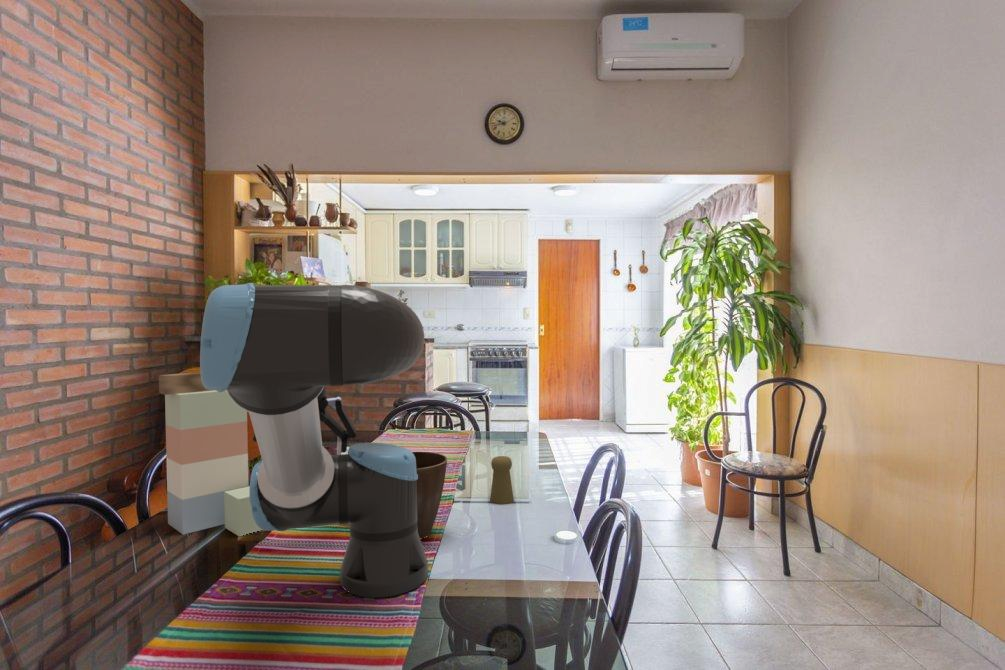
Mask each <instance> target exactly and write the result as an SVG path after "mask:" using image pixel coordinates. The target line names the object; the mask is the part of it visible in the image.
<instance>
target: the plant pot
mask: <svg viewBox="0 0 1005 670" xmlns="http://www.w3.org/2000/svg"><path fill="white" fill-rule="evenodd" d="M411 452H412V453H413V454H414V456H415V458H416V470H417V475H418V479H417V530H418V534H419V537H420V538H424V537H426V536H428V535H429V536H430V535H431V533H432V531H433V527H434V525H435V522H436V518H437V514H438V512H439V508H440V506H441V505H440V504H441V500H442V495H443V491H444V486H445V480H446V473H447V465H448V457H447V456H446V455H444V454H441V453H437V452H432V451H431V452H430V451H411ZM429 536H428V537H429ZM426 538H427V537H426ZM424 539H425V538H424Z"/></svg>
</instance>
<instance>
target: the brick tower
mask: <svg viewBox="0 0 1005 670" xmlns="http://www.w3.org/2000/svg"><path fill="white" fill-rule="evenodd" d="M164 402H165V406H164V408H165V449H166V451H165V452H166V453H165V455H166V491H167V492H166V493H167V495H166V496H167V498H166V499H167V524H168V525H169V526H170V527H172V528H173V529H175V530H176V531H177V532H179V533H180V534H182V535H187V534H190V533H195V532H198V531H203V530H206V529H210V528H215V527H218V526H222V525H225V511H224V492H225V491H230V490H234V489H239V488H244V487H248V486H249V482H248V468H249V449H248V447H249V445H248V436H249V435H248V411H246V410H244V409H242V408H241V407H240V406H238V405H237V404H236V403H235V402H234V401H233V399H232V398H231V397H230V395H229V393H228V390H225V391H224V392H218V391H216V390H213V391H202V392H191V393H180V394H168V395H164Z"/></svg>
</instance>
